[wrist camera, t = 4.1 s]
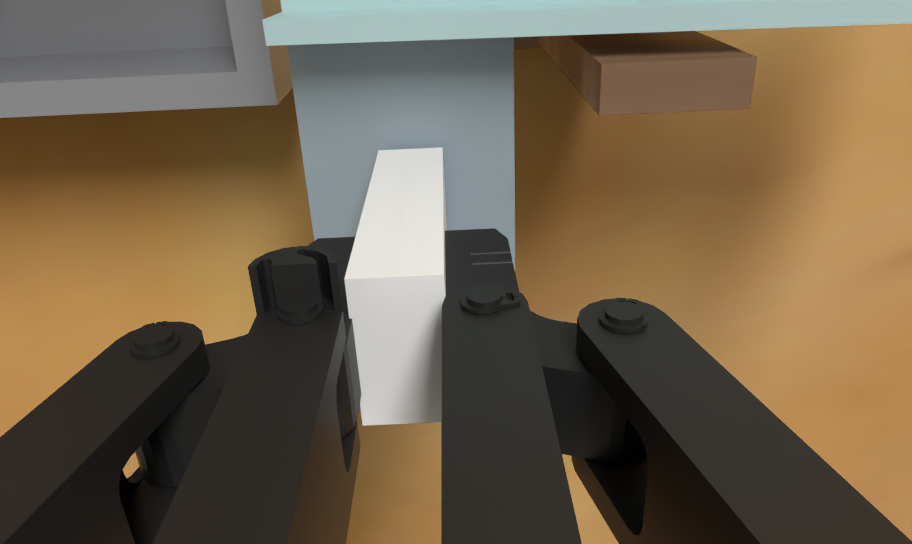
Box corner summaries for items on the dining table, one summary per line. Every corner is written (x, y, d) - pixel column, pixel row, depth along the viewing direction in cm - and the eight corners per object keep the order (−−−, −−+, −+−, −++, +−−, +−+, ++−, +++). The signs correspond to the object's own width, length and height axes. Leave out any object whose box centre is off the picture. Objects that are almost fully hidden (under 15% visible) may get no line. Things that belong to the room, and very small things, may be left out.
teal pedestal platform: (1097, 327, 18) (1169, 375, 16) (335, 330, 20) (316, 375, 18) (1422, -470, 12) (1606, -549, 10) (240, -376, 13) (194, -428, 11)
